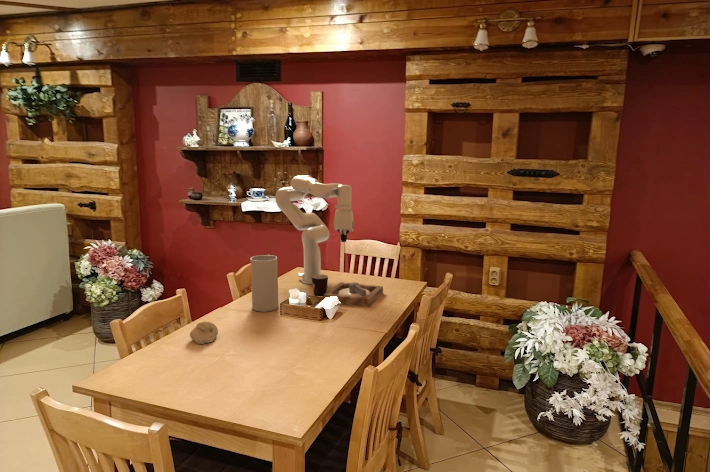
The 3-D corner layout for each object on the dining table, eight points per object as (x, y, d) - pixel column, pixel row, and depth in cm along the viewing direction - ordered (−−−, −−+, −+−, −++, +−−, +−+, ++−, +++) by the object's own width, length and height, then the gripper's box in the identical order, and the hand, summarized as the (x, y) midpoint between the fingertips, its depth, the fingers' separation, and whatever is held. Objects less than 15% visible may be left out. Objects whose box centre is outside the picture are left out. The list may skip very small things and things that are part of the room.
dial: (334, 291, 264) (334, 281, 263) (362, 288, 270) (362, 278, 269) (349, 303, 245) (349, 292, 244) (378, 299, 252) (379, 288, 250)
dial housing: (323, 302, 253) (323, 294, 253) (340, 289, 276) (340, 281, 275) (369, 307, 245) (369, 299, 245) (382, 293, 268) (383, 285, 267)
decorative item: (193, 324, 211) (214, 315, 210) (202, 343, 211) (223, 334, 210) (181, 331, 199) (204, 321, 198) (190, 351, 199) (213, 342, 198)
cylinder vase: (246, 309, 242) (244, 259, 237) (263, 302, 252) (261, 254, 248) (267, 313, 236) (266, 262, 231) (283, 306, 247) (282, 256, 242)
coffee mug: (327, 297, 261) (327, 278, 259) (311, 297, 261) (310, 278, 259) (329, 290, 272) (329, 273, 271) (313, 290, 273) (313, 272, 271)
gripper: (328, 207, 268) (328, 241, 271) (354, 210, 262) (354, 244, 266) (334, 206, 274) (333, 239, 278) (359, 208, 269) (359, 241, 273)
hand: (343, 241), depth 272 cm, fingers closed
